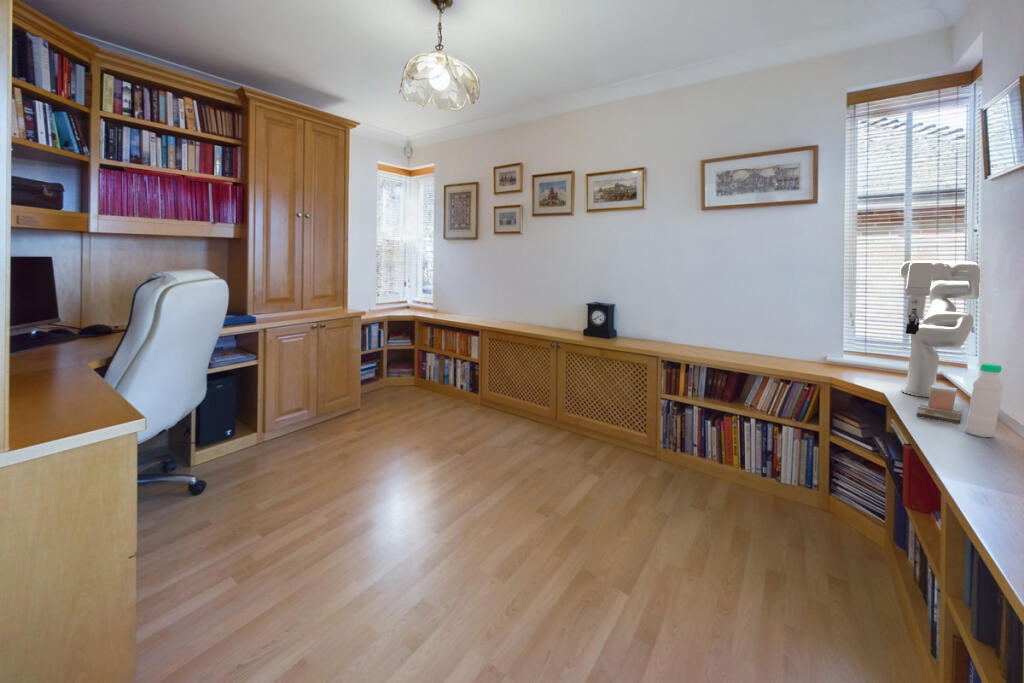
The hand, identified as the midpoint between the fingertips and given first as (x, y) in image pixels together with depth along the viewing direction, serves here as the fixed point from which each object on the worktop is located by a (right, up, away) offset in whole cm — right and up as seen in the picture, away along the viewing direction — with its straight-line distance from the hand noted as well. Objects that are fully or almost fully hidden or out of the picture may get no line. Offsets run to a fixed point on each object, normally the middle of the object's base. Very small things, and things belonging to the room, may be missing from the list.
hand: (912, 332), depth 185 cm
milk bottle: (-5, -37, -32) cm, 49 cm away
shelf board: (-1, -33, -13) cm, 35 cm away
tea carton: (-1, -32, -13) cm, 34 cm away
